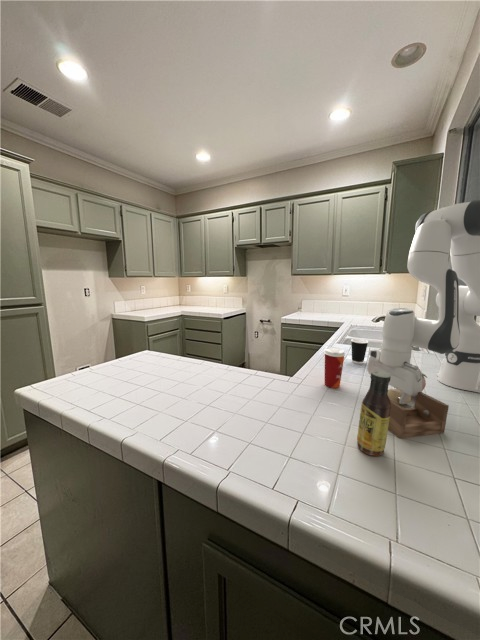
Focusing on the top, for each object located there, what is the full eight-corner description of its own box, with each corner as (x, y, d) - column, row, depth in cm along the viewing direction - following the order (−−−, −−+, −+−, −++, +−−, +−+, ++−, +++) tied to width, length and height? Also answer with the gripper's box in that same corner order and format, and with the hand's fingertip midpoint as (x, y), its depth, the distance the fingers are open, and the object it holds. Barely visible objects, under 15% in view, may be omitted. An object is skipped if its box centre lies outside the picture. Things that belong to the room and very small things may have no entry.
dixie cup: (369, 363, 130) (372, 341, 128) (359, 365, 126) (362, 343, 124) (355, 358, 137) (357, 338, 135) (345, 361, 132) (347, 339, 131)
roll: (396, 393, 93) (404, 385, 90) (405, 406, 89) (414, 398, 86) (373, 395, 91) (380, 387, 88) (381, 408, 87) (389, 400, 84)
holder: (416, 415, 81) (419, 391, 80) (444, 432, 73) (448, 405, 71) (375, 420, 78) (378, 394, 77) (399, 438, 70) (403, 410, 68)
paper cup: (344, 390, 99) (347, 354, 96) (322, 388, 100) (325, 352, 98) (340, 382, 106) (343, 348, 104) (320, 380, 108) (323, 346, 105)
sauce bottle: (351, 441, 68) (359, 368, 64) (374, 441, 68) (383, 367, 65) (365, 459, 61) (374, 378, 58) (391, 458, 62) (401, 377, 59)
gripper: (431, 367, 78) (424, 411, 81) (380, 348, 98) (376, 384, 100) (413, 369, 77) (407, 413, 79) (366, 349, 97) (362, 385, 99)
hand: (389, 396), depth 90 cm, fingers open, 8 cm apart
